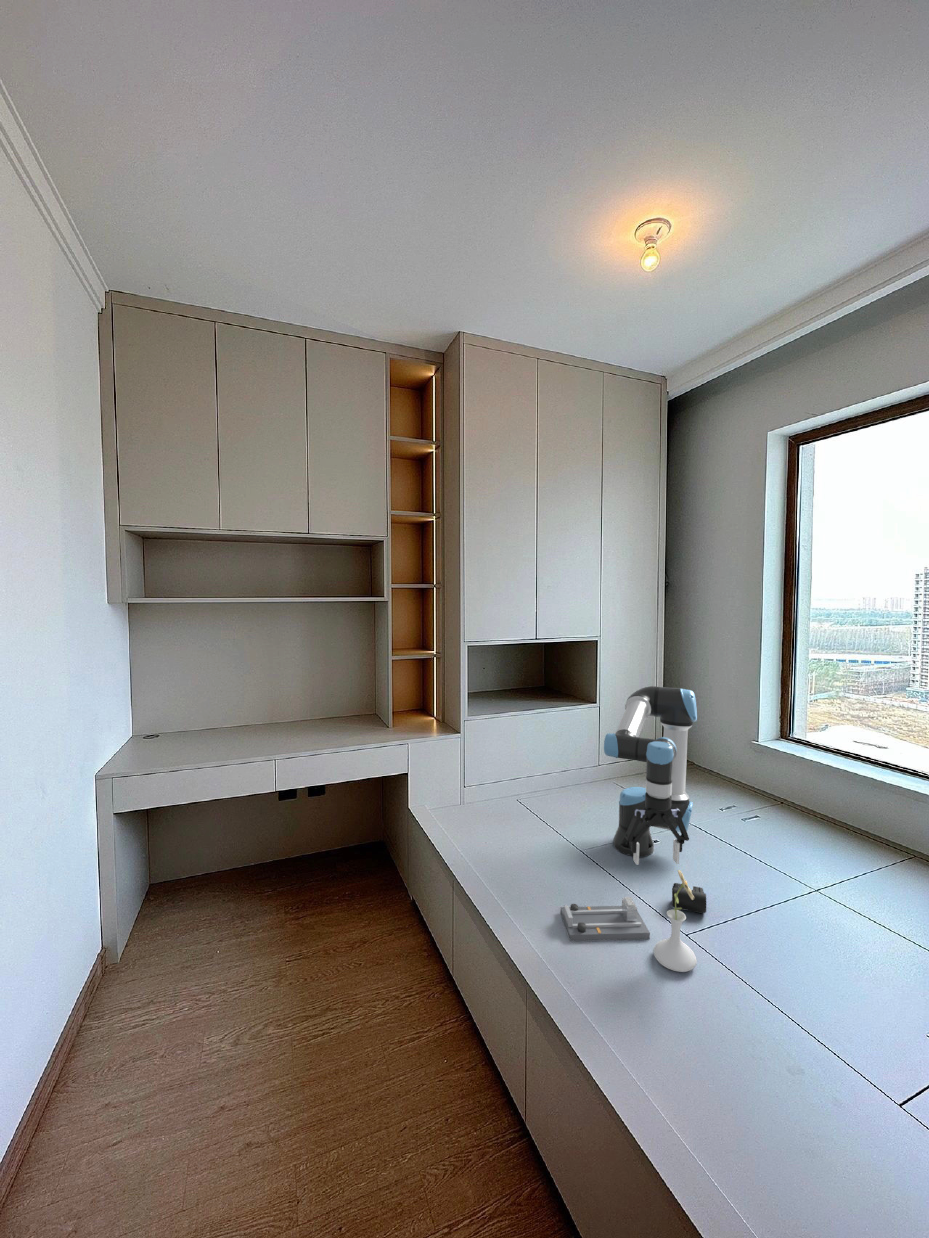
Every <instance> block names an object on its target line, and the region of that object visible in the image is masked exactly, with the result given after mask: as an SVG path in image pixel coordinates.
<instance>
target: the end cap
mask: <svg viewBox="0 0 929 1238" xmlns="http://www.w3.org/2000/svg"><path fill="white" fill-rule="evenodd" d="M681 884H682V883H679V882H678V883H677V882H674V883H673V885H672V891H671V906H672V908H673V909H675V896H674V894H676V893H677V892H678V890H679V888H680V887H681ZM691 891H692V892H691V893H692V894H693V896H694V898H693V899H694V900H692V899H691V898H690V896H689V895H688V893H687V891H686V889H685V888H683V887H682V888H681V889H680V891H679V893H678V895H677V897H678V900H679V903H677V902H676V908H682V909H681V910H684V911H687V912H694V913H698V914H706V913H707V894H706V893H705V891H704V888H703V887H700V886H695V885H694V886H692V889H691Z"/></svg>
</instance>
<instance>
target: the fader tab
mask: <svg viewBox="0 0 929 1238" xmlns="http://www.w3.org/2000/svg"><path fill="white" fill-rule="evenodd" d="M621 906H622V915H623V917H624V919H625V921H626V923H627V922H637V911H638V907H637V906H636V904H635V902H634V901H633V898H632V896H624V897H623V898H622V899H621Z"/></svg>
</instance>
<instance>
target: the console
mask: <svg viewBox="0 0 929 1238" xmlns="http://www.w3.org/2000/svg"><path fill="white" fill-rule="evenodd" d="M559 909H560V910H559V911H560V912H559V913H560V916H561V920H562V923H563V925H564V928H565V931H566V933H567V937H568V941H569V942H586V941H587V942H591V941H592V942H593V941H595V942H597V941H624V940H629V941H630V940H650V937H651V936H650V935H651V932H650V931H649V929H648V927H647V925H646V924H645V922H644V920H643V918H642V916H641V915H640V913H639V911H638V910H637V922H627V923H626V921H625V919H624V917H623V915H622V905H604V906H603V905H597V906H595V905H594V906H593V905H592V906H579V905H578V904H576V903H571V904H570V906H569V905H568V904H565V905H564V906H561V907H560V908H559Z"/></svg>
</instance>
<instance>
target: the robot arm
mask: <svg viewBox="0 0 929 1238" xmlns="http://www.w3.org/2000/svg"><path fill="white" fill-rule="evenodd" d="M624 709H625V710H624V713H623V715H622V716H621V717H622V718H621V720H620V721H619V723H618V727H617V729H616V731H615V733H614V732H613V733H607V734H606V735H605V736H604V740H603V753H604V754H605V756H607V757H612V758H615V759H622V760H623V759H624V760H630V761H637V762H643V763H646V766H645V767H646V771H645V775H646V776H645V787H641V786H633V787H632V786H631V787H627V788H624V789H622V791H621V792H620V794H619V801H618V804H619V807H618V809H619V810H618V826H617V829H616V832H615V834H614V837H613V846H614V848H615V849H616V850H617V851H618V852H620V853H622V854H624V855H626V856H631V857H633V859H632V860H633V862H634V863H635V865H636V866H637V865H640V857H647V856H649V855H652V854H653V852H654V850H655V849H654V840H653V838H652V835H651V831H650V828H651V827H652V828H658V829H663V830H667V831H671V833H672V834H673V836H674V837H675V838H673V841H672V843H673V845H672V846H673V848H672V861H674V863H675V864H676V865H679V864H680V853H682V852H683V845H685V841H689V840H690V837H689V834H688V830H689V827H690V820H691V815H692V811H693V806H694V802H693V801H690V795H688V793H687V792H686V782H687V781H686V778H687V759H688V757H687V756H688V737H689V736H688V735H689V729H691V728H692V727H693V724H694V723H693V722H697V721H698V711H697V710H698V709H697V700H696V694H695V692H694V691H693V690H691V689H687V688H686V689H685V688H678V687H667V686H666V687H664V686H655V685H654V686H653V685H652V686H645V687H642V688H640V689H638V690H636V691H634V692H633V693H632V694H630V696H629V697H627V700H626V701H625V704H624ZM648 717H655V718H659V723H660V724H661V725H662V727H663V736H661V737H657V738H656V739H654V738H653V739H652V738H647V737H640V734H641V732H642V730H643V726H644V724H645V721H646V719H647V718H648Z"/></svg>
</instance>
